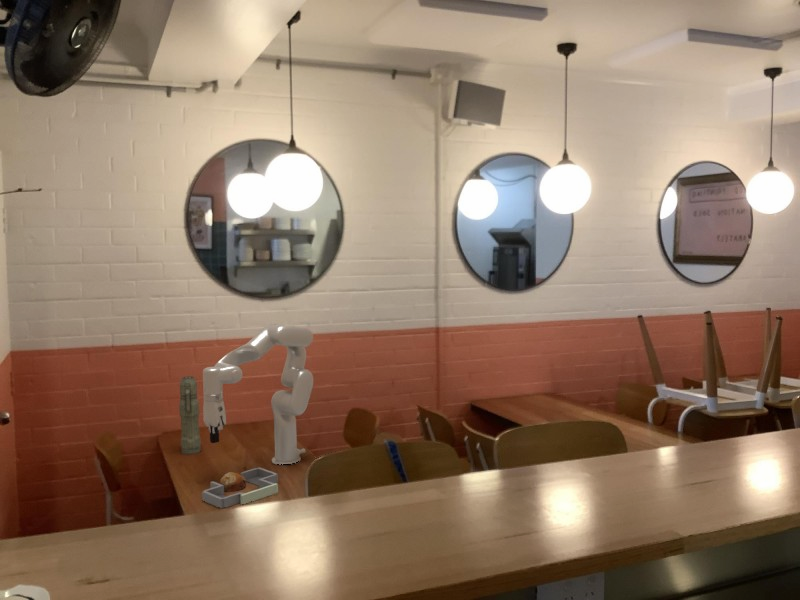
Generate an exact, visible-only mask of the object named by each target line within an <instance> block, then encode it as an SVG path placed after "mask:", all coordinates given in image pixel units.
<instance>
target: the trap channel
mask: <svg viewBox="0 0 800 600" xmlns="http://www.w3.org/2000/svg"><path fill="white" fill-rule="evenodd" d="M240 475H242V476H243V477H244V479H245V483H249V484H252V485H254V486H258V489H257V488H256V489H254V490H251V491H248V492H245V493H244V492H241V491H240V492H235V493H233V494H231V495H225V492H224V485H221V484H219V483H220V482H219V483H218V482H216V481H210V482H209V484H210V485H209V486H210V488H208V489H204V490H203V491H201V497H202V499H201V500H203V501H202V502H204V501H205V503H207V504H208V505H212V506H214V507H216V508H218V507H220V508H219V509H225V508H224V507H226V508H229V507H232V506H235V505H237V503H238V504H240V505H242V504H244V505H246V503H247V504H248V503H252V502H255V501H258V500H261V499H264V498H267V497H270V496H273V495H276V494H278V493H279V484H278V483H279V474H278V473H276V472H274V471H271V470H268V469H265V468H262V467H254V468H251V469H249V470H245V471H242V472H240ZM251 501H252V502H251Z"/></svg>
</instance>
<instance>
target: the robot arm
mask: <svg viewBox="0 0 800 600" xmlns="http://www.w3.org/2000/svg"><path fill="white" fill-rule="evenodd" d="M313 341H314V334H313V332H312V330H311V329H309V328H307V327H301V326H295V325H282V324H272V323H270V324H267V325H266V326H264V327H263V328H262V329H261V330H260V331H258V333H257V334H255V335H254V336H253V337H252V338H251V339H249V341H248V342H247V343H246V344H243V345H241V346H239V347H237V348H235V349H234V350H232V351H229V352H228V353H226V354H225V355H224V356H223V357H222V358H221V359H219V360H218V361H217V362H216V363H215V365H214V366H207V367H205V368H203V370H202V383H203V385H202V387H203V391H202V392H203V407H202V408H203V409H202V411H203V412H202V418H203V423H204V424H205V426H206V427H207V428H208V432H209V442H210V443H211V444H216V443H219V442H220V432H221V430H224V426H226V424H227V414H226V408H225V407H226V406H225V402H224V392H223V386H224V384H225V385H227V384H228V385H229V384H237V383H239V382H240V381H241V380H242V378H243V377H244V376H243V375H244V373H243V371H242V369H241V368H240V367H239V366H241V365H243V364H245V363H250V362H255V361H257V360H260V359H261V358H262V357H263V356H264V355H265V354H267V353H268V352H269V351H270V350H271V349H272V348H273V347H274V346H276V345H277V346H285V348H286V351H287V352H286V354H287V355H286V359H285V363H284V366H283V371H282V373H281V378H280V382H281V384H282V386H284V387H286V388H289V389H292V390H291V391H290V390H285V389H282V390H277V391H276V392H274V394H273V395H272V397H271V400H270V402H271V403H270V404H271V410H272V414H273V424H274V426H273V427H274V433H273V434H274V456H273V457H272V458H271V464H273V465H277V464H279V465H278V466H284V465H283V464H291V465H293V464H292V463H295V464H297V463H296V462H298V461H299V462H301V456H300V455H301V454H304V453H306V449H305V448H301V449H300V448H298V447H297V439H298V438H297V418H296V416H302V414H303V413H305V411H306V409H307V407H308V404H309V400H310V397H311V395H312V390H313V386H314V375H313V373H312V372H311V371H310V370H309V369H307V368H305V365H306V360H307V351H306V348H307V347H309V346H310V345H311V344H312V343H313ZM299 462H298V463H299ZM281 464H282V465H281Z"/></svg>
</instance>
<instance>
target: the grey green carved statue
mask: <svg viewBox="0 0 800 600" xmlns="http://www.w3.org/2000/svg"><path fill="white" fill-rule="evenodd" d="M179 394H180V401H179V404H178V405H179V406H178V407H179V417H180V424H181V425H180V426H181V428H180V429H181V438H180V449H181V450H180V451H181V454H182V455H186V454H189V455H190V456H191V455H197V454H199V453H201V452H202V450H201V446H202V440H201V437H200V423H199V422H200V421H199V416H200V402H199V399H198V384H197V380H196V378H195V377H194V376H183V377H181V378H180V381H179ZM200 451H201V452H200Z"/></svg>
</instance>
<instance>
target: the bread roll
mask: <svg viewBox="0 0 800 600" xmlns="http://www.w3.org/2000/svg"><path fill="white" fill-rule="evenodd" d="M219 484H221V485H224V493H226V492H227V493H230V492H238V491H240V490H243V489H244V488H245V487H246V484H247V482H246V481H245V479H244V477H243V476H242V475H241V474H239V473H236V472H232V471H229V472H227V473H225V474H224V475H223V476H222V477H221V478H220V481H219Z"/></svg>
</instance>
